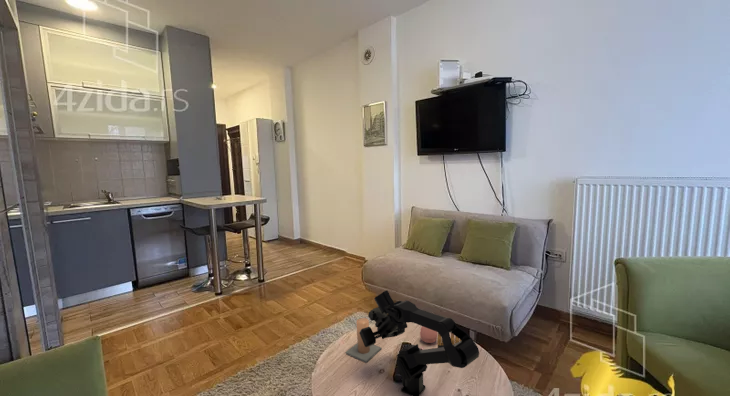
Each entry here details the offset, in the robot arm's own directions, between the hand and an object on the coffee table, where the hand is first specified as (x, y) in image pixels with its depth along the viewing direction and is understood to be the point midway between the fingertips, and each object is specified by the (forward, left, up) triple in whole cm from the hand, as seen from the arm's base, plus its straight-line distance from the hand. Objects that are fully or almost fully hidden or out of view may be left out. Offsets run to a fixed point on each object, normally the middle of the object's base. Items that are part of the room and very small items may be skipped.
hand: (374, 340), depth 122 cm
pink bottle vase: (-13, -24, -9) cm, 29 cm away
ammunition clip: (-25, -19, -9) cm, 32 cm away
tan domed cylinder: (+7, -2, -8) cm, 11 cm away
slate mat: (+7, -2, -9) cm, 12 cm away
